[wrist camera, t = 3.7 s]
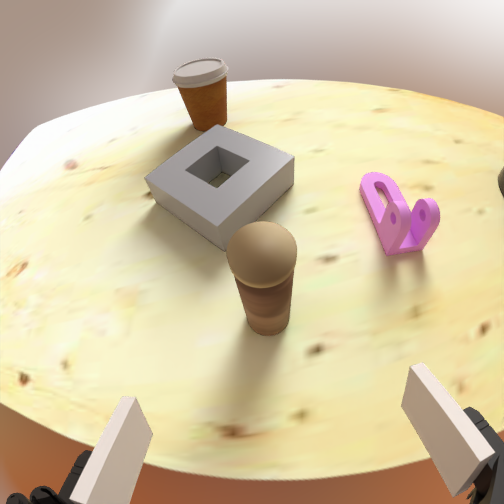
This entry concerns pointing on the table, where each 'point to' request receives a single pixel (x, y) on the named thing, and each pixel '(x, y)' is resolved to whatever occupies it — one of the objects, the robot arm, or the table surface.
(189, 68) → the disposable coffee cup
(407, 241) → the bracket
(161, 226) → the table surface
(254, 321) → the walnut pin
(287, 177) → the socket block
